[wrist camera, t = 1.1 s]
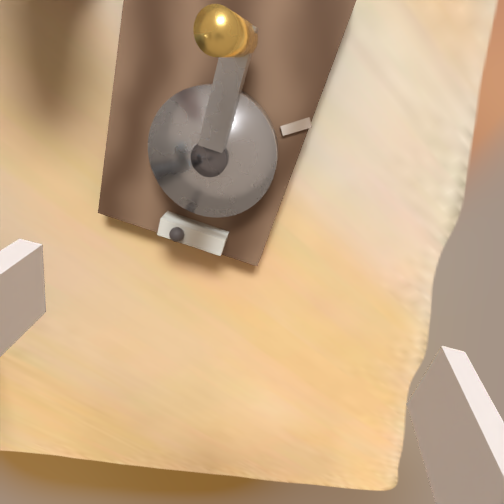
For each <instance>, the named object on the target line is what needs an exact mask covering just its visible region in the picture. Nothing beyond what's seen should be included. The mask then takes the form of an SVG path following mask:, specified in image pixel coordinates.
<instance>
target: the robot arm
mask: <svg viewBox="0 0 504 504" xmlns="http://www.w3.org/2000/svg"><path fill="white" fill-rule="evenodd" d="M45 312H46V302H45V283H44V264H43V245H42V244H39V243H35V242H31V241H27V240H23V239H18V240H16V241H15V242H13V243H12V244H10V245H8V246H7V247H5V248H4V249H2V250H1V251H0V357H1V356H2V355H3V354H4V353H5V352H6V351H7V350H8V349H9V348H10V347H11V346H12V345H13V344H14V343H15V342H16V341H17V340H18V339H19V338H20V337H21V336H22V335H23V334H24V333H25V332H26V331H27V330H28V329H29V328H30V327H31V326H32V325H33V324H34V323H35V322H36V321H37V320H38V319H39V318H40V317H41V316H42V315H43V314H44V313H45ZM406 405H407V408H408V411H409V415H410V418H411V422H412V425H413V428H414V432H415V435H416V439H417V442H418V445H419V448H420V452H421V455H422V459H423V462H424V466H425V469H426V472H427V476H428V479H429V482H430V486H431V489H432V493H433V496H434V499H435V503H436V504H504V422H503V421H502V419H501V417H500V415H499V413H498V411H497V410H496V408H495V406H494V404H493V402H492V401H491V399H490V397H489V395H488V393H487V391H486V390H485V388H484V386H483V384H482V382H481V380H480V379H479V377H478V375H477V373H476V371H475V370H474V368H473V366H472V364H471V362H470V360H469V358H468V357H467V355H466V353H465V352H464V351H460V350H456V349H452V348H448V347H444V346H441V347H440V349H439V350H438V352H437V354H436V355H435V357H434V359H433V361H432V362H431V364H430V365H429V367H428V369H427V370H426V372H425V374H424V375H423V377H422V379H421V380H420V382H419V384H418V385H417V387H416V389H415V390H414V392H413V394H412V395H411V397H410V399H409V400H408V402H407V404H406Z"/></svg>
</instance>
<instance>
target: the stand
mask: <svg viewBox="0 0 504 504" xmlns="http://www.w3.org/2000/svg"><path fill="white" fill-rule="evenodd" d="M355 2H356V0H124V2H123V11H122V19H121V27H120V35H119V44H118V52H117V60H116V68H115V77H114V85H113V93H112V101H111V110H110V118H109V126H108V134H107V143H106V151H105V159H104V167H103V176H102V184H101V192H100V200H99V209H98V213H100V214H103V215H106V216H109V217H112V218H115V219H118V220H121V221H124V222H127V223H130V224H133V225H136V226H139V227H142V228H145V229H148V230H151V231H154V232H157V235H159V236H162V237H165V238H168V239H171V240H172V241H174V242H180V243H183V244H186V245H189V246H191V247H194V248H197V249H200V250H203V251H206V252H209V253H212V254H215V255H218V256H221V254H222V255H225V256H228V257H231V258H234V259H237V260H240V261H243V262H246V263H249V264H252V265H255V266H258V263H259V260H260V258H261V255H262V252H263V250H264V247H265V244H266V242H267V239H268V236H269V233H270V231H271V228H272V225H273V223H274V220H275V217H276V215H277V212H278V209H279V207H280V204H281V201H282V199H283V196H284V193H285V190H286V188H287V185H288V182H289V180H290V177H291V174H292V172H293V169H294V166H295V164H296V161H297V158H298V156H299V153H300V150H301V147H302V145H303V142H304V139H305V137H306V134H307V131H308V129H309V128H311V127H312V126H311V121H312V118H313V115H314V113H315V110H316V107H317V104H318V102H319V99H320V96H321V94H322V91H323V88H324V86H325V83H326V80H327V78H328V75H329V72H330V70H331V67H332V64H333V62H334V59H335V56H336V53H337V51H338V48H339V45H340V43H341V40H342V37H343V35H344V32H345V29H346V27H347V24H348V21H349V19H350V16H351V13H352V10H353V8H354V5H355ZM210 4H220V5H223V6H225V7H227V8H228V9H230V10H232V11H233V12H235V13H236V14H238V15H239V16H241V17H242V18H244V19H245V20H247V21H249V22H250V23H251V24H252V25H253V26H255V27H257V28H259V30H258V44H257V47H256V49H255V51H254V52H253V53H252V55H251V59H250V63H249V66H248V70H247V73H246V77H245V81H244V84H243V88H242V91H243V92H245V93H246V94H248V95H249V96H251V97H252V98H253V99H254V100H256V101H257V102H258V103H259V104H260V105H261V107H262V108H263V109H264V110H265V112H266V113H267V114H268V116H269V118H270V120H271V122H272V124H273V127H274V129H275V132H276V136H277V141H278V160H277V166H276V170H275V173H274V177H273V180H272V182H271V184H270V186H269V188H268V190H267V191H266V193H265V194H264V195H263V197H262V198H261V199H260V200H259V201H258V202H257V203H256V204H255V205H253V206H252V207H250V208H249V209H247V210H245V211H244V212H242V213H239V214H236V215H233V216H229V217H221V218H215V217H206V216H201V215H198V214H195V213H192V212H190V211H188V210H186V209H184V208H182V207H181V206H179V205H178V204H177V203H175V202H174V201H173V200H172V199H171V198H170V197H169V196H168V195H167V194H166V193H165V192H164V191H163V189H162V188H161V187H160V185H159V184H158V182H157V180H156V178H155V176H154V174H153V171H152V169H151V165H150V162H149V156H148V136H149V131H150V127H151V124H152V122H153V119H154V117H155V116H156V114H157V112H158V111H159V109H160V108H161V107H162V105H163V104H164V103H165V102H166V101H167V100H168V99H169V98H171V97H172V96H174V95H175V94H176V93H178V92H180V91H182V90H184V89H187V88H190V87H194V86H198V85H203V84H213V79H214V75H215V71H216V67H217V63H218V58H219V57H212V56H209V55H207V54H205V53H204V52H203V51H202V50H201V49H200V48H199V47H198V45H197V43H196V41H195V38H194V32H193V27H194V21H195V18H196V16H197V14H198V13H199V12H200V10H201V9H203V8H204V7H205V6H207V5H210Z"/></svg>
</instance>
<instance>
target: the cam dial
mask: <svg viewBox="0 0 504 504" xmlns="http://www.w3.org/2000/svg"><path fill="white" fill-rule="evenodd" d="M258 30H259V28H257V27H255V26H253V25H252V24H251V23H250V22H249V21H247V20H245V19H244V18H242V17H241V16H239V15H238V14H236V13H235V12H233V11H232V10H230V9H228V8H227V7H225V6H223V5H220V4H210V5H207V6H205V7H204V8H203V9H201V10H200V12H199V13H198V14H197V16H196V18H195V21H194V27H193V32H194V38H195V41H196V43H197V45H198V47H199V48H200V49H201V50H202V51H203V52H204V53H205V54H207V55H209V56H212V57H219V58H218V63H217V67H216V71H215V75H214V79H213V84H203V85H198V86H194V87H190V88H187V89H184V90H182V91H180V92H178V93H176V94H175V95H174V96H172V97H171V98H169V99H168V100H167V101H166V102H165V103H164V104H163V105H162V107H161V108H160V109H159V111H158V112H157V114H156V116H155V117H154V119H153V122H152V124H151V127H150V131H149V136H148V156H149V162H150V165H151V169H152V171H153V174H154V176H155V178H156V180H157V182H158V184H159V185H160V187H161V188H162V189H163V191H164V192H165V193H166V194H167V195H168V196H169V197H170V198H171V199H172V200H173V201H174V202H175V203H177V204H178V205H179V206H181V207H182V208H184V209H186V210H188V211H190V212H192V213H195V214H198V215H201V216H206V217H215V218H221V217H229V216H233V215H236V214H239V213H242V212H244V211H245V210H247V209H249V208H250V207H252V206H253V205H255V204H256V203H257V202H258V201H259V200H260V199H261V198H262V197H263V195H264V194H265V193H266V191H267V190H268V188H269V186H270V184H271V182H272V180H273V177H274V173H275V170H276V166H277V160H278V141H277V136H276V132H275V129H274V127H273V124H272V122H271V120H270V118H269V116H268V114H267V113H266V112H265V110H264V109H263V108H262V107H261V105H260V104H259V103H258V102H257V101H256V100H254V99H253V98H252V97H251V96H249V95H248V94H246V93H245V92H243V91H242V88H243V84H244V81H245V77H246V73H247V70H248V66H249V63H250V59H251V55H252V53H253V52H254V51H255V49H256V47H257V44H258Z"/></svg>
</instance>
